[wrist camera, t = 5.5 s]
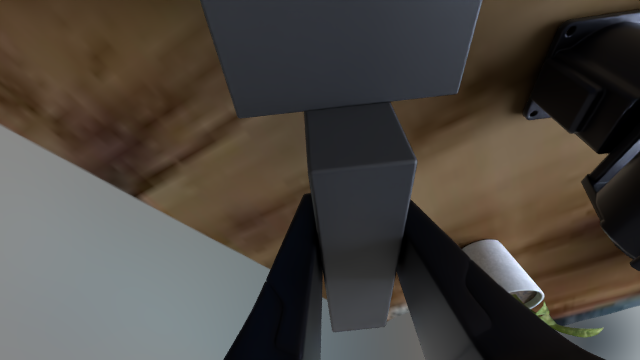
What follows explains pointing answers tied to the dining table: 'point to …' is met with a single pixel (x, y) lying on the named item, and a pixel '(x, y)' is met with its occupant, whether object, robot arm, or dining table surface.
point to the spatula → (347, 116)
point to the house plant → (516, 281)
